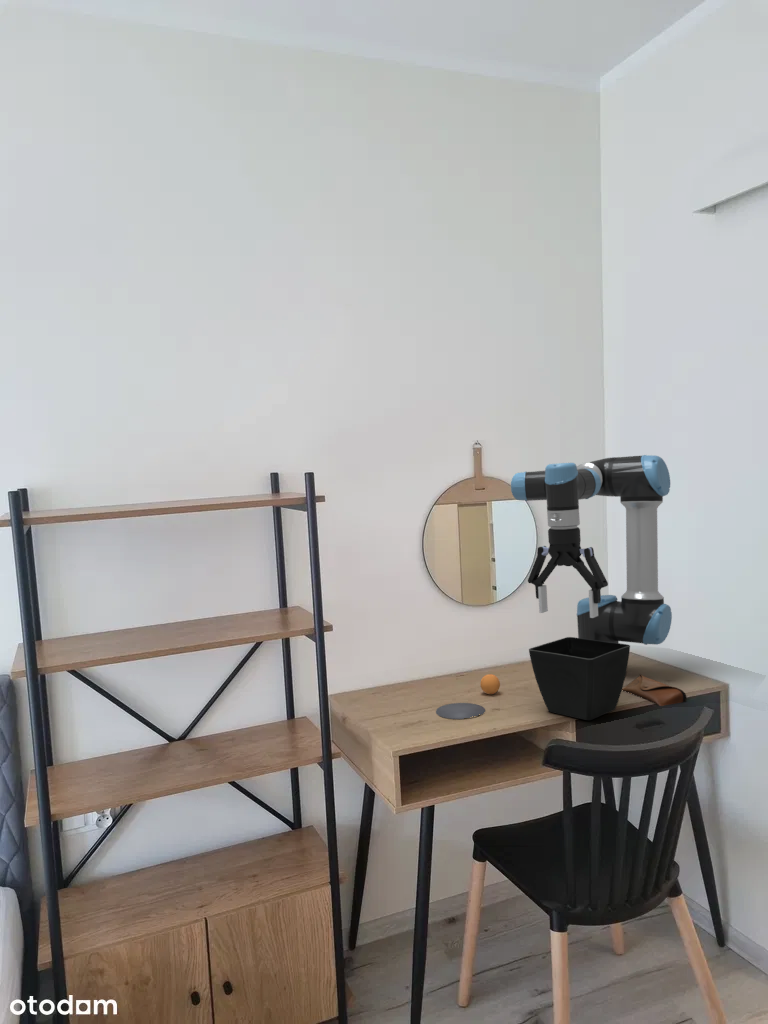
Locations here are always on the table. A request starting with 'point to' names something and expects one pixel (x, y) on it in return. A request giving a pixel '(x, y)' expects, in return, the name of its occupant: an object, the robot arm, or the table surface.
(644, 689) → the sunglasses case
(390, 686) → the table surface
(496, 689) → the ball
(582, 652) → the flower pot
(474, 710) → the disc
